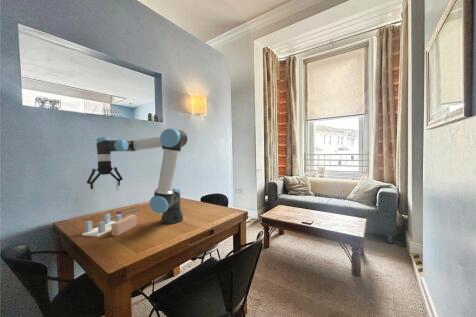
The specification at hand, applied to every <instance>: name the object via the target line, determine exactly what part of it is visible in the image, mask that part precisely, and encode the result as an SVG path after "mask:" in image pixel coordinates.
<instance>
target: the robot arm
mask: <svg viewBox="0 0 476 317" xmlns="http://www.w3.org/2000/svg"><path fill="white" fill-rule="evenodd" d="M187 142H188V135H187V133H185V132H184V131H183V130H180V129H178V128H177V129H176V128H171V127H170V128H166V129H164V130H163V131H162V132H161V133H160V136H156V137H149V138H148V137H147V138H141V139H140V138H139V139H135V140H134V139H133V140H126V139H115V140H113V139H112V140H111V138H110V137H106V136H105V137H102V136H101V137H100V136H99V137H97V138H96V142H95V143H96V152H97V153H96V155H97V158H96V160H97V168H92V169H91V173H90V175H89V177H88V179H87V181H86V184H88V185H90V186H89V187H90V190H92V194H93V195H96V190H95V181H97V179H99V177H100V176H101V175H102V176H105V175H110V176H112V178H113V179H115V180H116V181H115V186H116V187H115V188H116V191H117V192H119V191H120V190H119V189H120V188H119V186H121V181H122V180H124V178H123V176H122V175H121V173H120V172H119V171H118V168H117V166H114V167H112V161H111V160H112V157H111V155H112V154H111V152H135V151H136V152H137V151H142V150H150V149H151V150H152V149H158V148H159V149H160V148H161V150H162V151H163V154H162V161H161V165H160V172H159V177H158V178H159V179H158V185H157V188H156V189H154V192H153V196H151V198H150V200H149V207H150V209H151V210H152V212H154V213H156V214H161V215H162V216H161V219H160V220H161V221H160V222H161V223H162V224H164V225H167V224H168V225H172V224H177V223H181V222H182V221H183V220H184V215H183V212H182V209H181V190H180V188H173V184H174V177H175V172H176V165H177V159H178V154H179V153H180V152H181V151H182V150H181V149H182V147H184V146H185V145H186V144H187ZM112 170H113V171H114V172H115V174H114V173H113V172H112ZM96 172H98V173H97V174H96V175H95V173H96ZM94 175H95V176H94Z"/></svg>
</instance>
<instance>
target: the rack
mask: <svg viewBox="0 0 476 317" xmlns="http://www.w3.org/2000/svg"><path fill="white" fill-rule="evenodd" d="M122 215H123V214H121V213H118V214H117V215H115V216H116V217H115V221H114V220H111V219H112V218H110V217H111V213H106V214H104V215H103V216H104V217H103V219H104V221H103V220H101V221H100V222H97V227H94V228H93V226H94V225H93V220H88V221H85V222H84V223H85V224H84V226H85V230H84V231H85V232H83V233H81V236H82V237H94V238H95V237H97V238H99V237H101V236H102V235H104V234H106V233H108V232H111V231H112V228H111V224H113V223H115V222H117V221H119V220H121V219H123V216H122Z"/></svg>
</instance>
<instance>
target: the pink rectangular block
mask: <svg viewBox="0 0 476 317" xmlns="http://www.w3.org/2000/svg"><path fill="white" fill-rule="evenodd" d="M137 219H138V217H137V214H130V215H128V216H125V217H124V218H123V217H122V219H121V220H119V221H117V222H115V223H113V224H111V228H112V230H111V236H116V237H117V236H120V235H122V234H123V233H125V232H127V231H128V230H131V228H134V227H136V226H137V225H138V220H137Z"/></svg>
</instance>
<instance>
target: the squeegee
mask: <svg viewBox="0 0 476 317" xmlns="http://www.w3.org/2000/svg"><path fill="white" fill-rule="evenodd" d="M138 210H140V208H139V207H138V208H135V209H132V210H129V211H125V212H123V211H116V212H115V213H116V214H122V215H126V214H129V213H132V212H134V211H138ZM113 218H116V215H114V216H110V219H113Z"/></svg>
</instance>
